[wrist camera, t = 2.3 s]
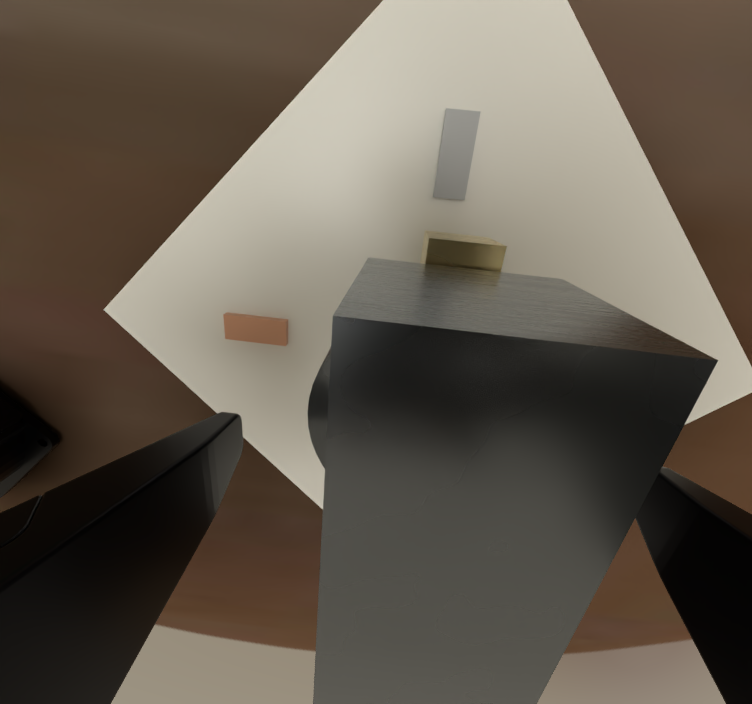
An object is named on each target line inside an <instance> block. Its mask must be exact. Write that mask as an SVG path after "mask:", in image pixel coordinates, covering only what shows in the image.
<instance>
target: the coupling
mask: <svg viewBox="0 0 752 704" xmlns="http://www.w3.org/2000/svg"><path fill="white" fill-rule="evenodd" d="M506 248H507V246H505V245H503V244H501V243H499V242H497V241H495V240H493V239H491V238H489V237H481V236H472V235H462V234H453V233H444V232H435V231H425V232H424V239H423V246H422V253H421V260H420V263H413V262H404V261H395V260H386V259H377V258H368V259H367V261H366V262H365V264H364V265H363V267H362V269H361V270H360V272H359V274H358V275H357V277H356V278H355V280H354V282H353V283H352V285H351V287H350V288H349V290H348V292H347V293H346V295H345V296H344V298H343V300H342V301H341V303H340V305H339V306H338V308H337V309H336V311H335V313H334V314H333V321H332V341H331V347H330V349H329V351H328V353H327V355H326V357H325V359H324V361H323V363H322V365H321V367H320V369H319V371H318V373H317V376H316V378H315V380H314V383H313V385H312V389H311V393H310V397H309V403H308V428H309V433H310V438H311V441H312V444H313V447H314V450H315V452H316V454H317V456H318V458H319V460H320V462H321V464H322V465H323V467H324V468H325V479H324V499H323V519H322V539H321V558H320V578H319V598H318V618H317V637H316V658H315V677H314V697H313V698H314V699H313V704H537V702H538V700H539V698H540V696H541V695H542V693H543V691H544V689H545V687H546V685H547V683H548V681H549V679H550V678H551V675H552V674H553V672H554V670H555V668H556V666H557V664H558V662H559V661H560V659H561V657H562V655H563V653H564V651H565V649H566V647H567V645H568V644H569V642H570V640H571V638H572V636H573V634H574V632H575V630H576V628H577V627H578V625H579V623H580V621H581V619H582V617H583V615H584V613H585V611H586V610H587V608H588V606H589V604H590V602H591V600H592V598H593V596H594V594H595V593H596V591H597V589H598V587H599V585H600V583H601V581H602V579H603V577H604V576H605V574H606V572H607V570H608V568H609V566H610V564H611V562H612V560H613V559H614V557H615V555H616V553H617V551H618V549H619V547H620V545H621V543H622V542H623V540H624V538H625V536H626V534H627V532H628V530H629V528H630V526H631V525H632V523H633V521H634V519H635V517H636V515H637V513H638V511H639V509H640V508H641V506H642V504H643V502H644V500H645V498H646V496H647V494H648V492H649V491H650V489H651V487H652V485H653V483H654V481H655V479H656V477H657V475H658V474H659V472H660V470H661V468H662V466H663V464H664V462H665V460H666V458H667V456H668V455H669V453H670V451H671V449H672V447H673V445H674V443H675V441H676V439H677V438H678V436H679V434H680V432H681V430H682V428H683V426H684V424H685V422H686V421H687V419H688V417H689V415H690V413H691V411H692V409H693V407H694V405H695V404H696V402H697V400H698V398H699V396H700V394H701V392H702V390H703V388H704V387H705V385H706V383H707V381H708V379H709V377H710V375H711V373H712V371H713V370H714V368H715V366H716V364H717V362H718V360H717V359H715V358H713V357H711V356H709V355H707V354H705V353H703V352H701V351H699V350H697V349H695V348H694V347H692V346H690V345H688V344H686V343H684V342H682V341H680V340H678V339H676V338H674V337H672V336H671V335H669V334H667V333H665V332H663V331H661V330H659V329H657V328H655V327H653V326H651V325H649V324H648V323H646V322H644V321H642V320H640V319H638V318H636V317H634V316H632V315H630V314H628V313H626V312H625V311H623V310H621V309H619V308H617V307H615V306H613V305H611V304H609V303H607V302H605V301H603V300H602V299H600V298H598V297H596V296H594V295H592V294H590V293H588V292H586V291H584V290H582V289H580V288H579V287H577V286H575V285H573V284H571V283H569V282H567V281H565V280H563V279H557V278H548V277H539V276H530V275H521V274H512V273H503V272H501V269H502V265H503V261H504V256H505V252H506Z"/></svg>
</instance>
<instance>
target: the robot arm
mask: <svg viewBox="0 0 752 704" xmlns="http://www.w3.org/2000/svg"><path fill="white" fill-rule="evenodd" d="M58 443H59V438H58V436H57V435H56V434H55V433H54V432H53V431H51V430H50V429H49V428H48V427H46V426H45V425H44V424H42V423H41V422H40V421H38V420H37V419H36V418H35V417H33V416H32V415H31V414H29V413H28V412H27V411H25V410H24V409H23V408H22V407H20V406H19V405H18V404H16V403H15V402H14V401H13V400H11V399H10V398H9V397H7V396H6V395H5V394H3V393H2V392H1V391H0V497H2V496H4V495H5V494H6V493H8V492H9V491H10V490H11V489H12V488H13V487H14V486H15V485H16V484H17V483H18V482H19V481H20V480H21V479H22V478H24V477H25V476H26V475H27V474H28V473H29V472H30V471H31V470H32V469H33V468H34V467H35V466H36V465H37V464H38V463H39V462H40V461H41V460H42V459H43V458H44V457H45V456H46V455H47V454H48V453H49V452H50V451H52V450H53V449H54V448H55V447H56V446H57V445H58ZM242 449H243V432H242V419H241V416H240V415H239V414H237V413H229V412H220V413H218V414H216V415H213V416H211V417H209V418H207V419H205V420H203V421H200V422H198V423H196V424H194V425H192V426H189V427H187V428H185V429H183V430H181V431H179V432H176V433H174V434H172V435H170V436H168V437H165V438H163V439H161V440H159V441H157V442H155V443H152V444H150V445H148V446H146V447H144V448H141V449H139V450H137V451H135V452H133V453H131V454H128V455H126V456H124V457H122V458H120V459H117V460H115V461H113V462H111V463H109V464H107V465H104V466H102V467H100V468H98V469H96V470H93V471H91V472H89V473H87V474H85V475H82V476H80V477H78V478H76V479H74V480H72V481H69V482H67V483H65V484H63V485H61V486H58V487H56V488H54V489H52V490H50V491H48V492H46V493H44V495H43V496H41V495H39V496H36V497H34V498H32V499H30V500H28V501H26V502H23V503H21V504H19V505H17V506H15V507H13V508H10V509H8V510H6V511H4V512H1V513H0V704H111V702H112V700H113V699H114V697H115V695H116V693H117V691H118V690H119V688H120V686H121V684H122V682H123V681H124V679H125V677H126V675H127V673H128V672H129V670H130V668H131V666H132V664H133V663H134V661H135V659H136V657H137V655H138V654H139V652H140V650H141V648H142V646H143V645H144V643H145V641H146V639H147V637H148V635H149V634H150V632H151V630H152V628H153V626H154V625H155V623H156V621H157V619H158V618H159V616H160V614H161V612H162V610H163V609H164V607H165V605H166V603H167V601H168V600H169V598H170V596H171V594H172V592H173V591H174V589H175V587H176V585H177V583H178V582H179V580H180V578H181V576H182V574H183V573H184V571H185V569H186V567H187V565H188V564H189V562H190V560H191V558H192V556H193V555H194V553H195V551H196V549H197V547H198V546H199V544H200V542H201V540H202V538H203V537H204V535H205V533H206V531H207V529H208V528H209V526H210V524H211V522H212V520H213V518H214V516H215V514H216V512H217V510H218V508H219V505H220V503H221V501H222V498H223V496H224V494H225V491H226V489H227V487H228V484H229V482H230V479H231V477H232V475H233V472H234V470H235V468H236V465H237V463H238V461H239V458H240V456H241V453H242ZM635 518H636V520H637V523H638V525H639V528H640V530H641V533H642V535H643V537H644V540H645V542H646V545H647V547H648V550H649V552H650V554H651V557H652V559H653V562H654V564H655V566H656V568H657V571H658V573H659V575H660V577H661V579H662V581H663V583H664V585H665V587H666V589H667V591H668V593H669V595H670V597H671V599H672V601H673V603H674V605H675V607H676V609H677V611H678V612H679V614H680V616H681V618H682V620H683V622H684V624H685V626H686V628H687V630H688V632H689V634H690V635H691V637H692V639H693V641H694V643H695V645H696V647H697V649H698V651H699V653H700V655H701V657H702V658H703V660H704V662H705V664H706V666H707V668H708V670H709V672H710V674H711V676H712V678H713V680H714V682H715V683H716V685H717V687H718V689H719V691H720V693H721V695H722V697H723V699H724V701H725V703H726V704H752V514H750V513H748V512H746V511H744V510H743V509H741V508H739V507H737V506H735V505H734V504H732V503H730V502H728V501H726V500H725V499H723V498H721V497H719V496H717V495H716V494H714V493H712V492H710V491H708V490H707V489H705V488H703V487H701V486H699V485H698V484H696V483H694V482H692V481H690V480H689V479H687V478H685V477H683V476H681V475H680V474H678V473H676V472H674V471H673V470H671V469H669V468H665V467H662V468H661V470H660V472H659V474H658V475H657V477H656V479H655V481H654V483H653V485H652V487H651V489H650V491H649V492H648V494H647V496H646V498H645V500H644V502H643V504H642V506H641V508H640V509H639V511H638V513H637V515H636V517H635Z"/></svg>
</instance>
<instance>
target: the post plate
mask: <svg viewBox="0 0 752 704" xmlns="http://www.w3.org/2000/svg"><path fill="white" fill-rule="evenodd" d="M425 231H435V232H444V233H453V234H462V235H472V236H481V237H489V238H491V239H493V240H495V241H497V242H499V243H501V244H503V245H505V246H507V248H506V252H505V256H504V261H503V265H502V269H501V272H503V273H512V274H521V275H530V276H539V277H548V278H557V279H563V280H565V281H567V282H569V283H571V284H573V285H575V286H577V287H579V288H580V289H582V290H584V291H586V292H588V293H590V294H592V295H594V296H596V297H598V298H600V299H602V300H603V301H605V302H607V303H609V304H611V305H613V306H615V307H617V308H619V309H621V310H623V311H625V312H626V313H628V314H630V315H632V316H634V317H636V318H638V319H640V320H642V321H644V322H646V323H648V324H649V325H651V326H653V327H655V328H657V329H659V330H661V331H663V332H665V333H667V334H669V335H671V336H672V337H674V338H676V339H678V340H680V341H682V342H684V343H686V344H688V345H690V346H692V347H694V348H695V349H697V350H699V351H701V352H703V353H705V354H707V355H709V356H711V357H713V358H715V359H717V360H718V362H717V364H716V366H715V368H714V370H713V371H712V373H711V375H710V377H709V379H708V381H707V383H706V385H705V387H704V388H703V390H702V392H701V394H700V396H699V398H698V400H697V402H696V404H695V405H694V407H693V409H692V411H691V413H690V415H689V417H688V419H687V421H686V422H685V424H687V423H690V422H692V421H694V420H696V419H698V418H700V417H702V416H704V415H706V414H708V413H710V412H712V411H714V410H716V409H718V408H721V407H723V406H725V405H727V404H729V403H731V402H733V401H735V400H737V399H739V398H741V397H743V396H745V395H747V394H749V393H752V367H751V365H750V363H749V361H748V359H747V357H746V355H745V353H744V351H743V349H742V347H741V345H740V343H739V341H738V339H737V337H736V335H735V333H734V331H733V329H732V327H731V325H730V323H729V321H728V319H727V317H726V315H725V313H724V311H723V309H722V307H721V305H720V303H719V301H718V299H717V297H716V295H715V293H714V291H713V289H712V287H711V285H710V283H709V281H708V279H707V277H706V275H705V273H704V271H703V269H702V267H701V265H700V263H699V261H698V259H697V257H696V255H695V253H694V251H693V249H692V247H691V245H690V243H689V241H688V240H687V238H686V236H685V234H684V232H683V230H682V228H681V226H680V224H679V222H678V220H677V218H676V216H675V214H674V212H673V210H672V208H671V206H670V204H669V202H668V200H667V198H666V196H665V194H664V192H663V190H662V188H661V186H660V184H659V182H658V180H657V178H656V176H655V174H654V172H653V170H652V168H651V166H650V164H649V162H648V160H647V158H646V156H645V154H644V152H643V150H642V148H641V146H640V144H639V142H638V140H637V138H636V136H635V134H634V132H633V130H632V128H631V126H630V124H629V122H628V120H627V118H626V116H625V114H624V112H623V110H622V108H621V106H620V104H619V102H618V100H617V98H616V96H615V94H614V92H613V90H612V88H611V86H610V84H609V82H608V80H607V78H606V76H605V74H604V72H603V70H602V68H601V66H600V64H599V62H598V61H597V59H596V57H595V55H594V53H593V51H592V49H591V47H590V45H589V43H588V41H587V39H586V37H585V35H584V33H583V31H582V29H581V27H580V25H579V23H578V21H577V19H576V17H575V15H574V13H573V11H572V9H571V7H570V5H569V3H568V1H567V0H383V1H382V2H381V3H380V4H379V6H378V7H377V8H376V9H375V10H374V11H373V12H372V13H371V14H370V16H369V17H368V18H367V19H366V20H365V21H364V22H363V23H362V24H361V26H360V27H359V28H358V29H357V30H356V31H355V32H354V33H353V34H352V35H351V37H350V38H349V39H348V40H347V41H346V42H345V43H344V44H343V45H342V47H341V48H340V49H339V50H338V51H337V52H336V53H335V54H334V55H333V56H332V58H331V59H330V60H329V61H328V62H327V63H326V64H325V65H324V66H323V68H322V69H321V70H320V71H319V72H318V73H317V74H316V75H315V76H314V78H313V79H312V80H311V81H310V82H309V83H308V84H307V85H306V86H305V87H304V89H303V90H302V91H301V92H300V93H299V94H298V95H297V96H296V97H295V99H294V100H293V101H292V102H291V103H290V104H289V105H288V106H287V107H286V108H285V110H284V111H283V112H282V113H281V114H280V115H279V116H278V117H277V118H276V120H275V121H274V122H273V123H272V124H271V125H270V126H269V127H268V128H267V130H266V131H265V132H264V133H263V134H262V135H261V136H260V137H259V138H258V139H257V141H256V142H255V143H254V144H253V145H252V146H251V147H250V148H249V149H248V151H247V152H246V153H245V154H244V155H243V156H242V157H241V158H240V159H239V160H238V162H237V163H236V164H235V165H234V166H233V167H232V168H231V169H230V170H229V172H228V173H227V174H226V175H225V176H224V177H223V178H222V179H221V180H220V182H219V183H218V184H217V185H216V186H215V187H214V188H213V189H212V190H211V191H210V193H209V194H208V195H207V196H206V197H205V198H204V199H203V200H202V201H201V203H200V204H199V205H198V206H197V207H196V208H195V209H194V210H193V211H192V212H191V214H190V215H189V216H188V217H187V218H186V219H185V220H184V221H183V222H182V224H181V225H180V226H179V227H178V228H177V229H176V230H175V231H174V232H173V234H172V235H171V236H170V237H169V238H168V239H167V240H166V241H165V242H164V243H163V245H162V246H161V247H160V248H159V249H158V250H157V251H156V252H155V253H154V255H153V256H152V257H151V258H150V259H149V260H148V261H147V262H146V263H145V264H144V266H143V267H142V268H141V269H140V270H139V271H138V272H137V273H136V274H135V276H134V277H133V278H132V279H131V280H130V281H129V282H128V283H127V284H126V286H125V287H124V288H123V289H122V290H121V291H120V292H119V293H118V294H117V295H116V297H115V298H114V299H113V300H112V301H111V302H110V303H109V304H108V305H107V307H106V308H105V309H104V311H105V312H107V313H108V314H109V315H110V316H111V317H112V318H113V319H114V320H115V321H116V322H118V323H119V324H120V325H121V326H122V327H123V328H124V329H125V330H126V331H127V332H129V333H130V334H131V335H132V336H133V337H134V338H135V339H136V340H137V341H138V342H139V343H141V344H142V345H143V346H144V347H145V348H146V349H147V350H148V351H149V352H150V353H152V354H153V355H154V356H155V357H156V358H157V359H158V360H159V361H160V362H161V363H163V364H164V365H165V366H166V367H167V368H168V369H169V370H170V371H171V372H172V373H173V374H175V375H176V376H177V377H178V378H179V379H180V380H181V381H182V382H183V383H184V384H186V385H187V386H188V387H189V388H190V389H191V390H192V391H193V392H194V393H195V394H197V395H198V396H199V397H200V398H201V399H202V400H203V401H204V402H205V403H206V404H207V405H209V406H210V407H211V408H212V409H213V410H214V411H215V412H216V413H217V414H218V413H220V412H229V413H237V414H239V415H240V416H241V419H242V432H243V437H244V438H245V439H246V440H247V441H248V442H249V443H250V444H251V445H252V446H254V447H255V448H256V449H257V450H258V451H259V452H260V453H261V454H262V455H263V456H265V457H266V458H267V459H268V460H269V461H270V462H271V463H272V464H273V465H274V466H276V467H277V468H278V469H279V470H280V471H281V472H282V473H283V474H284V475H285V476H286V477H288V478H289V479H290V480H291V481H292V482H293V483H294V484H295V485H296V486H297V487H299V488H300V489H301V490H302V491H303V492H304V493H305V494H306V495H307V496H308V497H310V498H311V499H312V500H313V501H314V502H315V503H316V504H317V505H318V506H319V507H320V508H322V509H323V499H324V479H325V468H324V467H323V465H322V464H321V462H320V460H319V458H318V456H317V454H316V452H315V450H314V447H313V444H312V441H311V438H310V433H309V428H308V403H309V397H310V393H311V389H312V385H313V383H314V380H315V378H316V376H317V373H318V371H319V369H320V367H321V365H322V363H323V361H324V359H325V357H326V355H327V353H328V351H329V349H330V347H331V341H332V321H333V314H334V313H335V311H336V309H337V308H338V306H339V305H340V303H341V301H342V300H343V298H344V296H345V295H346V293H347V292H348V290H349V288H350V287H351V285H352V283H353V282H354V280H355V278H356V277H357V275H358V274H359V272H360V270H361V269H362V267H363V265H364V264H365V262H366V261H367V259H368V258H377V259H386V260H395V261H404V262H413V263H420V260H421V253H422V246H423V239H424V232H425ZM685 424H684V425H685Z"/></svg>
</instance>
